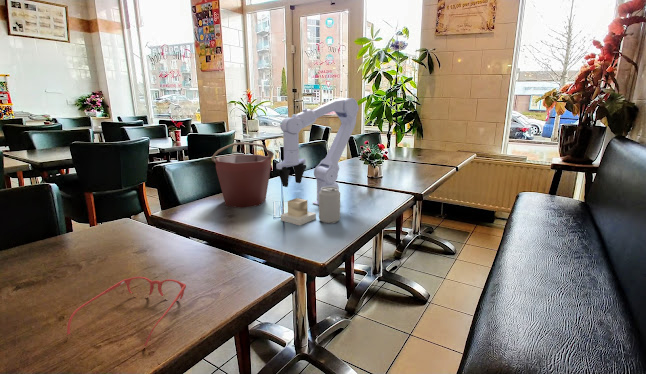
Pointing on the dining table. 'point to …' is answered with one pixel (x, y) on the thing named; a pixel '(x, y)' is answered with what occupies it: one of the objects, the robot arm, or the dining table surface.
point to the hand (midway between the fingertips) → (291, 184)
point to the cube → (297, 207)
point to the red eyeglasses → (131, 292)
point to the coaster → (298, 218)
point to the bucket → (243, 177)
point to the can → (329, 205)
